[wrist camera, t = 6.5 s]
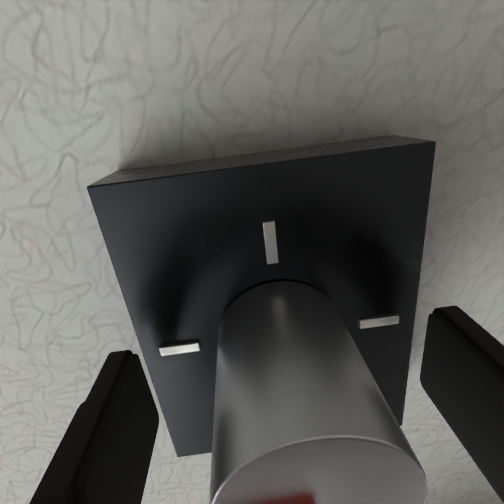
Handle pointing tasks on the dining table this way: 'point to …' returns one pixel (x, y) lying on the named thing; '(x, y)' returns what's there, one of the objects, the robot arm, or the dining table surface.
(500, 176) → the dining table surface
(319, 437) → the tap knob
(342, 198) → the plate
